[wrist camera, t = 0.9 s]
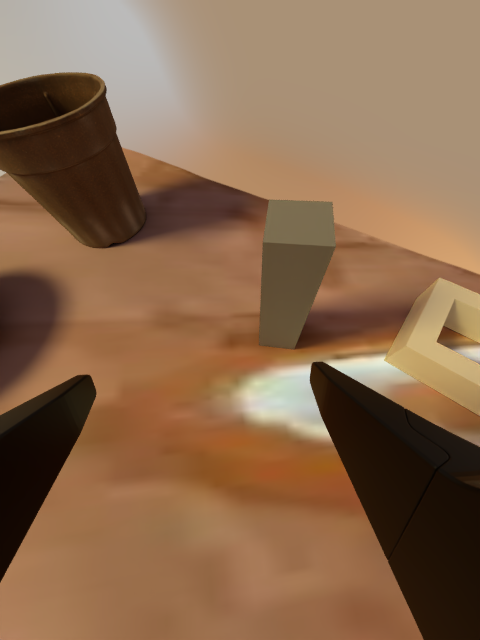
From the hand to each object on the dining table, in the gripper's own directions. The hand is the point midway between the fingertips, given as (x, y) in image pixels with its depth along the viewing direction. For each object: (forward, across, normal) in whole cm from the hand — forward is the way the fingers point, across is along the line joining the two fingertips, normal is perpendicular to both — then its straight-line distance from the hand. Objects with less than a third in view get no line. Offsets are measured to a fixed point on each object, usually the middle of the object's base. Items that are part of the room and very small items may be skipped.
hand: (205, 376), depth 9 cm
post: (+16, -7, +6) cm, 18 cm away
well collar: (+12, -25, +8) cm, 28 cm away
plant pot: (+36, +18, -5) cm, 40 cm away
